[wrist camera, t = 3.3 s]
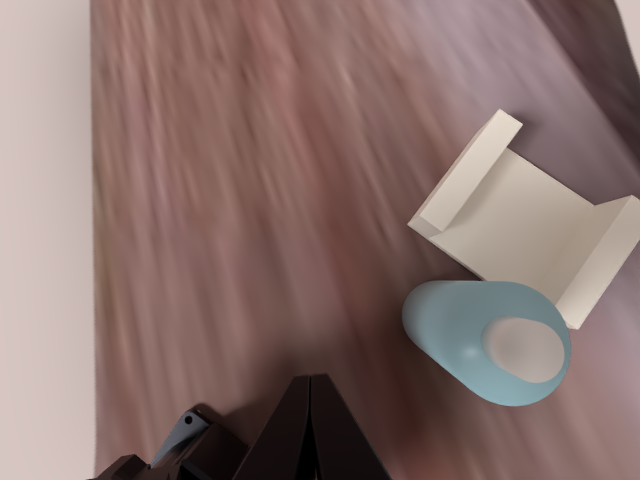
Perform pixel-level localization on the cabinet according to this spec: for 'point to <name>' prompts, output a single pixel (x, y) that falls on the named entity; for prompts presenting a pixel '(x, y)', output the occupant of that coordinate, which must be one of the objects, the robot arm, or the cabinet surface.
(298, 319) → the cabinet surface
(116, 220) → the cabinet surface
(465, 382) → the bottle
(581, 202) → the u rest
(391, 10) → the cabinet surface
